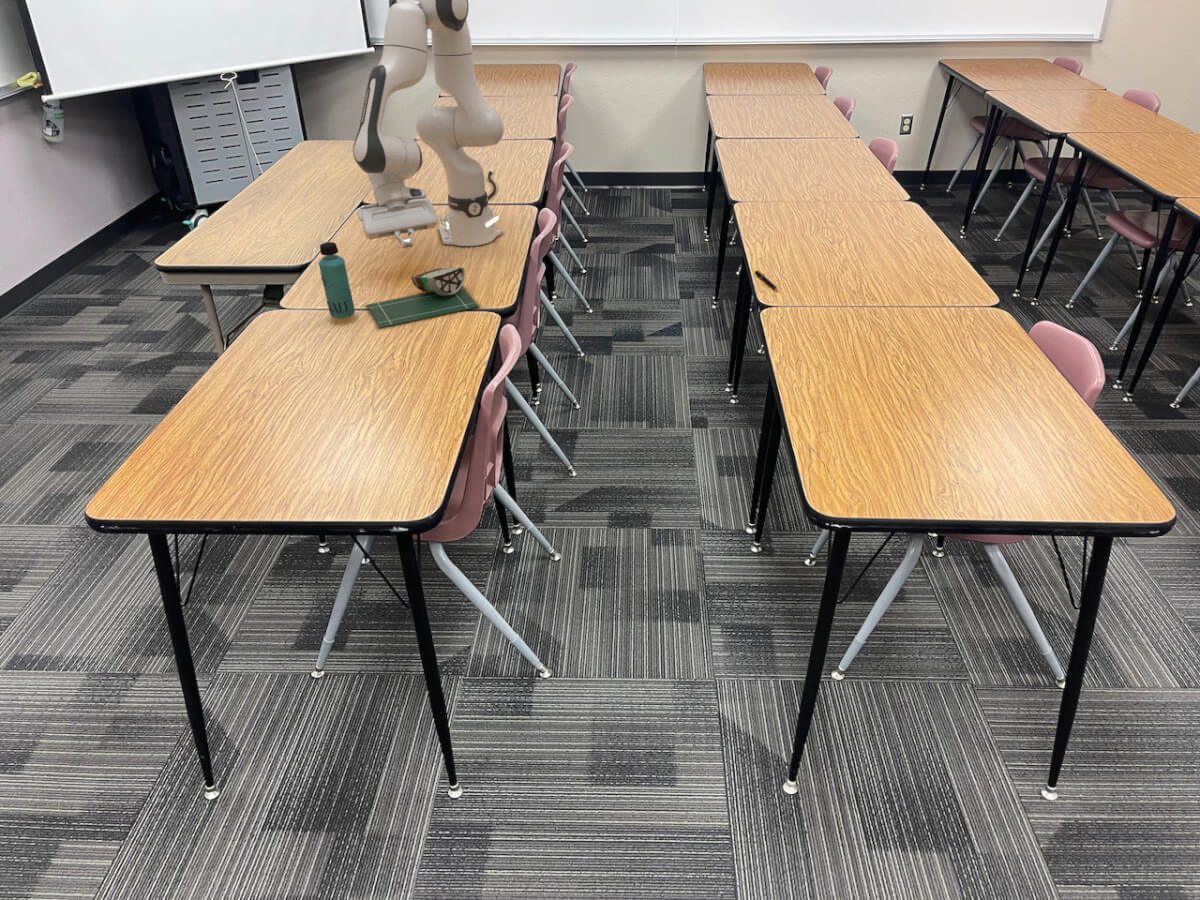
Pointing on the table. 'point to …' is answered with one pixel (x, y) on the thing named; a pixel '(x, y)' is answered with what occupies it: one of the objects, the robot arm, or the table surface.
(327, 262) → the beverage bottle
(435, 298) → the cutting mat
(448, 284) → the grey green half-round piece
